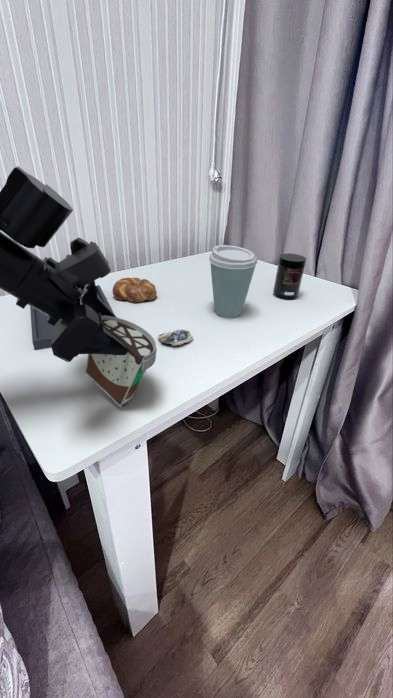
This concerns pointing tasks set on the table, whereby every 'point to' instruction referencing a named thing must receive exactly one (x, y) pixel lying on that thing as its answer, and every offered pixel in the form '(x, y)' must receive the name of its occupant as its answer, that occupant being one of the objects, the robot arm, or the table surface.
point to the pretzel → (134, 289)
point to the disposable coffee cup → (231, 278)
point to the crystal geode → (176, 337)
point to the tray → (44, 329)
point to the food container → (122, 361)
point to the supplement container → (289, 275)
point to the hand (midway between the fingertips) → (123, 337)
